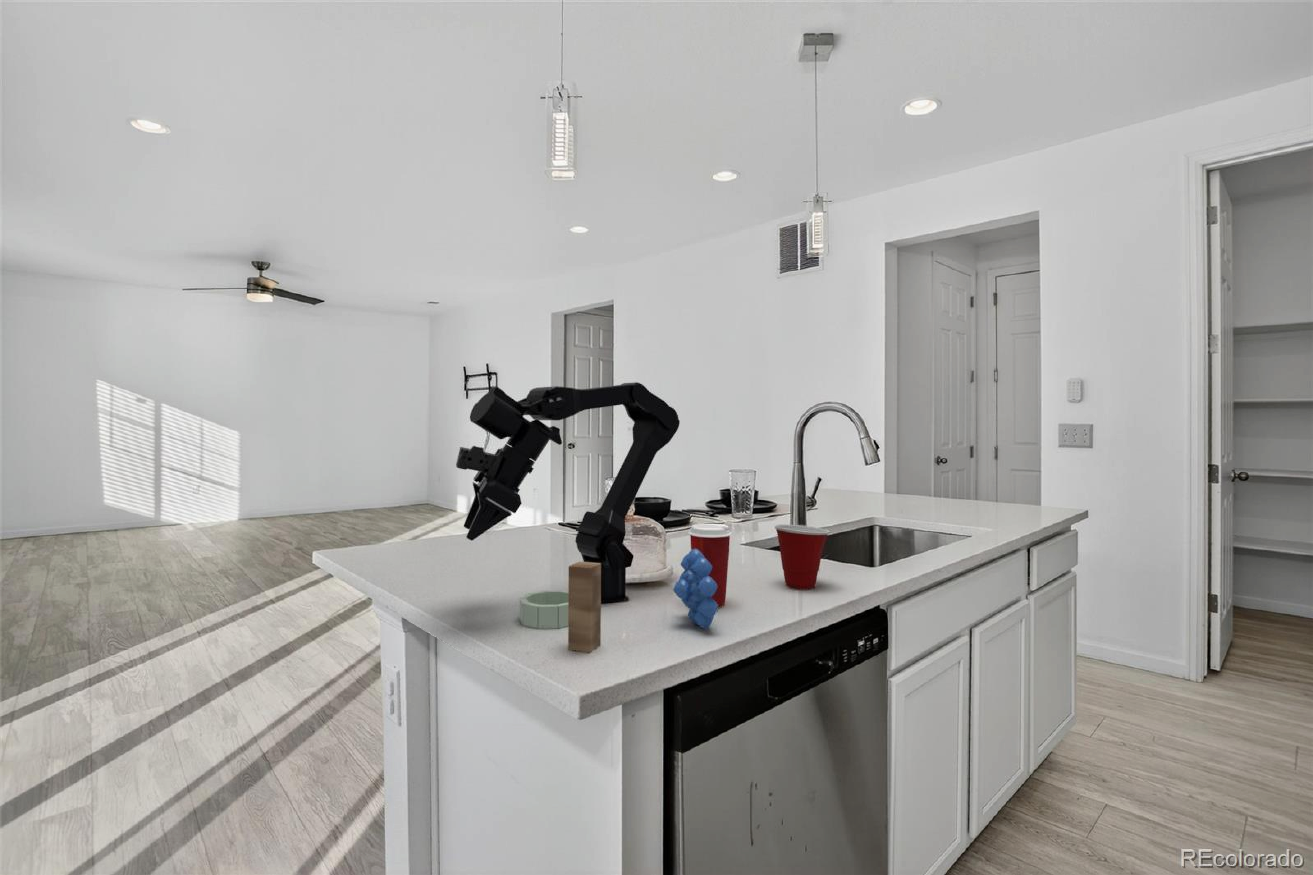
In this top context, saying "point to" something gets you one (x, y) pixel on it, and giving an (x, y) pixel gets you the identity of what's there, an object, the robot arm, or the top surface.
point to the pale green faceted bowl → (544, 609)
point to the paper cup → (714, 553)
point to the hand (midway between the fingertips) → (467, 533)
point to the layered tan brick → (584, 606)
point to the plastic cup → (800, 553)
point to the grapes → (697, 588)
